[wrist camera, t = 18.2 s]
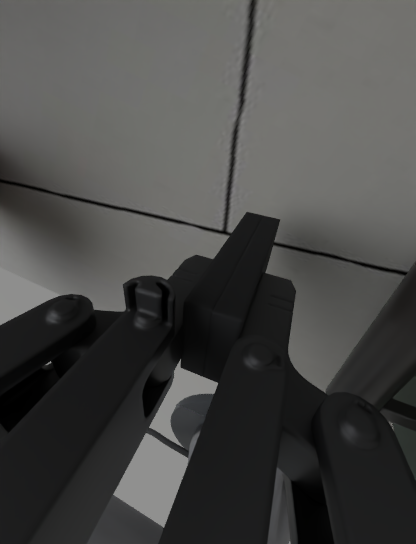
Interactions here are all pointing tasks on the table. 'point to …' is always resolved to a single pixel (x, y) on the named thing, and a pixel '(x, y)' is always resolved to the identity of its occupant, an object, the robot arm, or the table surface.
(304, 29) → the table surface
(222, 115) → the table surface
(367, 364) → the drawer
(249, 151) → the table surface
